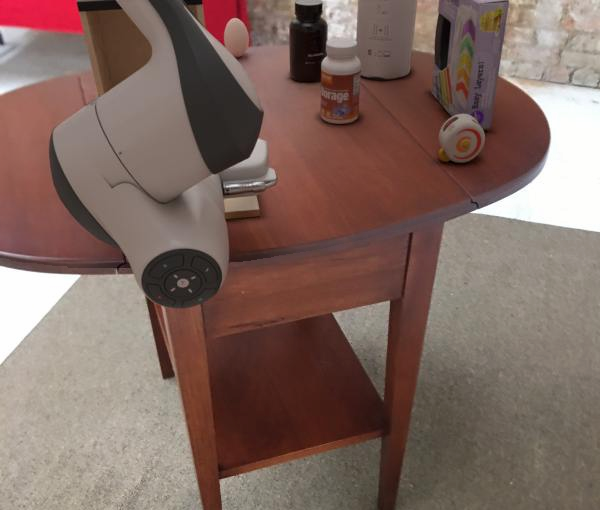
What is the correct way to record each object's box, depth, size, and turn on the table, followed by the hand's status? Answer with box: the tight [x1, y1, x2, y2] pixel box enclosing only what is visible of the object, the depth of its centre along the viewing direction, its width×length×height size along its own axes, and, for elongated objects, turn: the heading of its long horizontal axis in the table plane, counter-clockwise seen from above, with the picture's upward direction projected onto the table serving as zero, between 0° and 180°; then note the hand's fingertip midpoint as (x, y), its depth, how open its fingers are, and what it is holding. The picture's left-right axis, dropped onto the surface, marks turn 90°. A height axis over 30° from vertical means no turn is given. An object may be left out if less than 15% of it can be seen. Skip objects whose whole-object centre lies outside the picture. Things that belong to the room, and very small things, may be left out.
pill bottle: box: [320, 37, 362, 125], centre depth 99 cm, size 6×6×11 cm
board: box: [224, 195, 261, 220], centre depth 83 cm, size 18×9×1 cm, turn 98°
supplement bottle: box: [288, 0, 329, 83], centre depth 112 cm, size 7×7×12 cm
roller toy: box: [438, 114, 486, 164], centre depth 89 cm, size 4×6×6 cm
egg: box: [223, 17, 250, 58], centre depth 123 cm, size 5×5×7 cm
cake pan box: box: [430, 0, 510, 132], centre depth 98 cm, size 19×5×18 cm, turn 7°
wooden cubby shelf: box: [75, 0, 206, 97], centre depth 102 cm, size 18×13×18 cm
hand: (178, 141), depth 75 cm, fingers open, 8 cm apart
